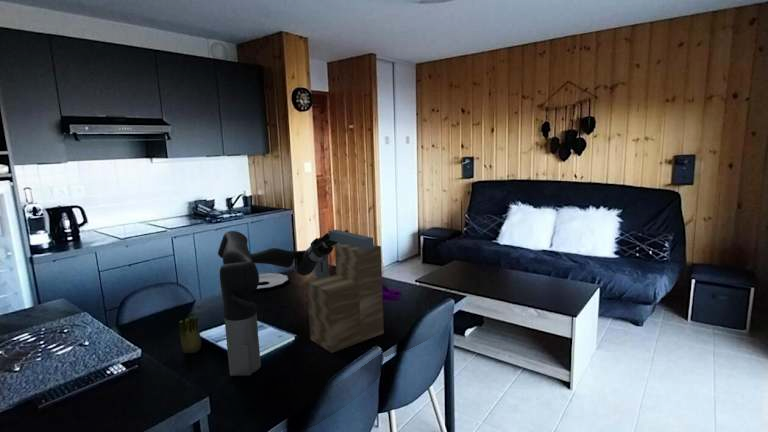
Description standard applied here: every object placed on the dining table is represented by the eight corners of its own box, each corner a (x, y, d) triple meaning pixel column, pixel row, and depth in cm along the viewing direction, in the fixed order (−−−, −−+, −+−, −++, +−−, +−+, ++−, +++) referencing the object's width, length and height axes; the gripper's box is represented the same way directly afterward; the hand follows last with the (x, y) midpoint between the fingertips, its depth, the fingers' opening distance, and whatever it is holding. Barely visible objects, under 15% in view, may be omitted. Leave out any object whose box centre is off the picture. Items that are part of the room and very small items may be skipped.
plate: (237, 280, 224) (237, 276, 224) (286, 274, 232) (286, 271, 231) (236, 294, 201) (236, 290, 200) (290, 288, 208) (290, 284, 208)
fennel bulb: (181, 356, 140) (177, 321, 138) (184, 349, 145) (180, 316, 143) (200, 353, 141) (197, 319, 140) (202, 347, 146) (199, 314, 144)
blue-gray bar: (373, 247, 146) (373, 237, 145) (365, 249, 143) (364, 239, 143) (336, 238, 163) (336, 229, 163) (329, 239, 161) (328, 230, 161)
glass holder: (324, 272, 232) (322, 245, 229) (338, 278, 221) (337, 250, 219) (310, 276, 226) (308, 248, 224) (324, 281, 215) (322, 253, 213)
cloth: (356, 304, 184) (355, 290, 183) (363, 290, 202) (363, 278, 201) (407, 305, 181) (407, 291, 180) (410, 291, 199) (410, 278, 198)
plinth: (383, 333, 153) (380, 246, 148) (331, 352, 139) (326, 257, 134) (360, 321, 163) (357, 240, 158) (310, 339, 150) (304, 250, 145)
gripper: (337, 254, 175) (356, 240, 162) (307, 261, 166) (324, 246, 154) (332, 238, 176) (350, 222, 164) (301, 243, 168) (318, 227, 156)
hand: (338, 233), depth 159 cm, fingers open, 8 cm apart
